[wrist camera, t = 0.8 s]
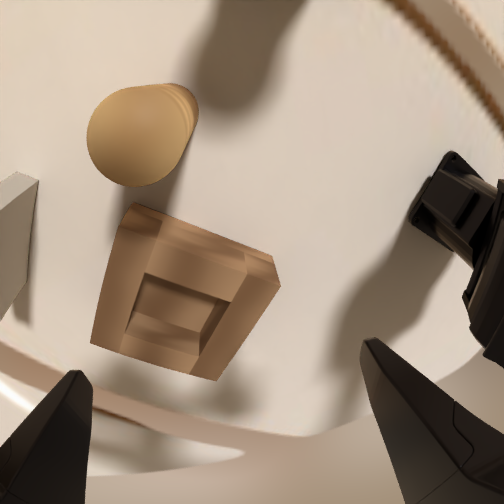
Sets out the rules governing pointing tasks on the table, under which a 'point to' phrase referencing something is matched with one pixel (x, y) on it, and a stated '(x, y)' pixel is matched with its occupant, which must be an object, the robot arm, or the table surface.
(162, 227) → the socket block
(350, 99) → the table surface
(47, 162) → the table surface
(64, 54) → the table surface
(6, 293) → the wall
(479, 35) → the table surface
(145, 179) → the dowel
